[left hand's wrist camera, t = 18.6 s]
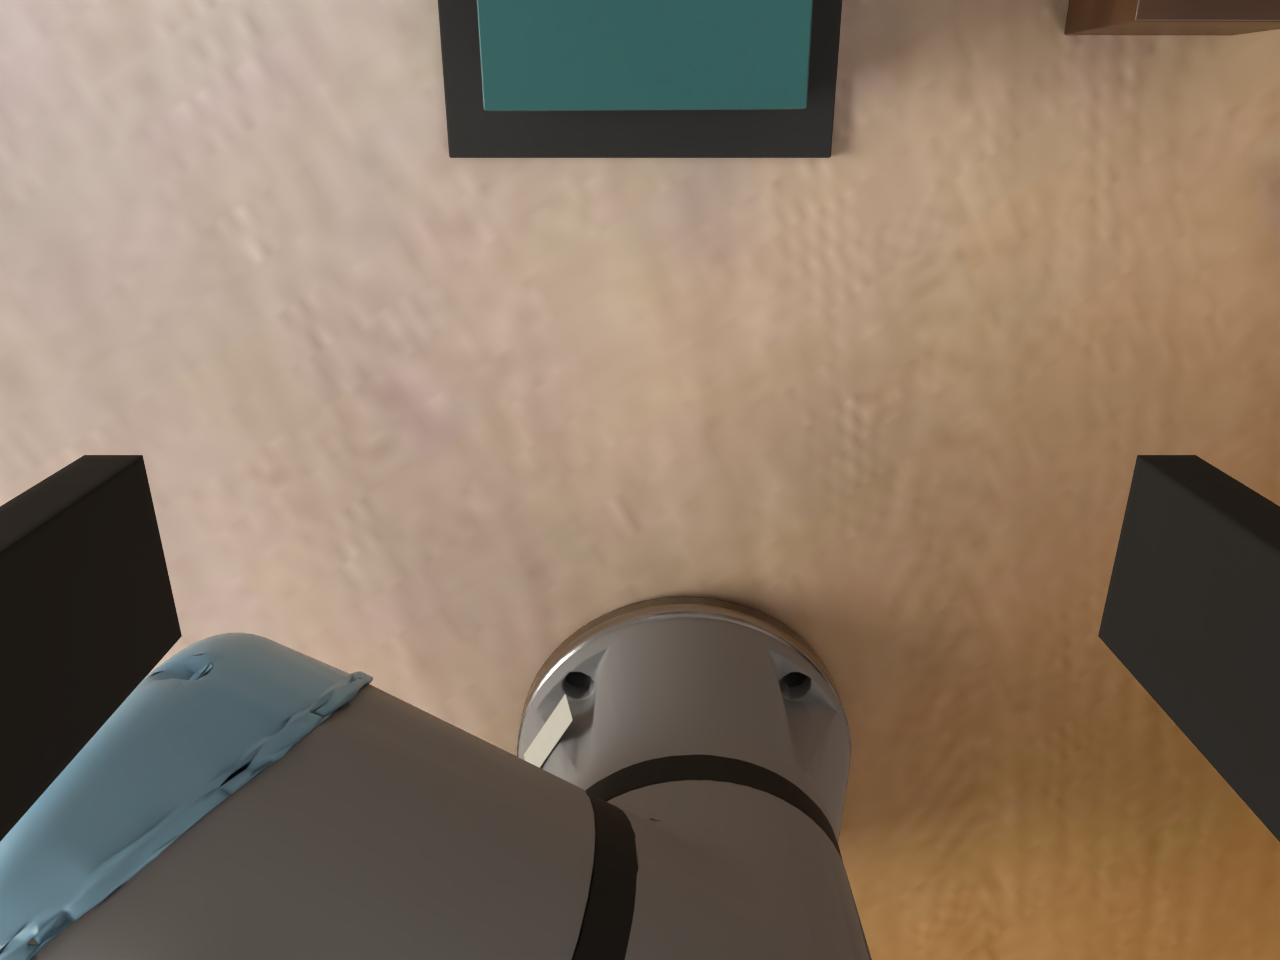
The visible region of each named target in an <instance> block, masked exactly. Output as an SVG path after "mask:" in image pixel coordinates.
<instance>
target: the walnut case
mask: <svg viewBox="0 0 1280 960" xmlns="http://www.w3.org/2000/svg"><path fill="white" fill-rule="evenodd" d="M1274 29H1280V0H1070V2H1069V8H1068V14H1067V21H1066V27H1065V35H1237V34H1245V33H1252V32H1259V31H1267V30H1274Z"/></svg>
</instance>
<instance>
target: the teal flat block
mask: <svg viewBox="0 0 1280 960" xmlns="http://www.w3.org/2000/svg"><path fill="white" fill-rule="evenodd" d="M812 7H813V0H477V11H478V27H479V42H480V58H481V73H482V89H483V105H484V110H485V111H616V110H786V109H805V108H806V107H807V93H808V76H809V58H810V41H811V24H812Z"/></svg>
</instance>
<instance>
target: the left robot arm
mask: <svg viewBox="0 0 1280 960" xmlns="http://www.w3.org/2000/svg"><path fill="white" fill-rule="evenodd" d="M180 637H181V631H180V626H179V622H178V617H177V613H176V608H175V603H174V599H173V594H172V589H171V585H170V580H169V576H168V571H167V566H166V562H165V557H164V553H163V548H162V543H161V539H160V534H159V529H158V525H157V520H156V516H155V511H154V506H153V502H152V497H151V492H150V488H149V483H148V479H147V474H146V469H145V465H144V460H143V456H142V455H84V456H82V457H81V458H79V459H77V460H76V461H74V462H73V463H71V464H69V465H68V466H66V467H64V468H63V469H61V470H59V471H58V472H56V473H55V474H53V475H51V476H50V477H48V478H46V479H45V480H43V481H41V482H40V483H38V484H37V485H35V486H33V487H32V488H30V489H28V490H27V491H25V492H23V493H22V494H20V495H19V496H17V497H15V498H14V499H12V500H10V501H9V502H7V503H5V504H4V505H2V506H1V507H0V960H872V959H871V956H870V952H869V949H868V945H867V942H866V939H865V935H864V932H863V928H862V925H861V922H860V918H859V915H858V911H857V908H856V904H855V901H854V898H853V894H852V891H851V887H850V884H849V881H848V877H847V874H846V870H845V868H844V865H843V861H842V857H841V853H840V850H839V845H838V840H839V833H840V827H841V820H842V814H843V807H844V801H845V794H846V788H847V781H848V775H849V768H850V754H851V744H850V733H849V728H848V723H847V719H846V716H845V713H844V710H843V707H842V704H841V701H840V698H839V695H838V692H837V689H836V687H835V684H834V682H833V680H832V678H831V676H830V674H829V672H828V670H827V669H826V667H825V666H824V664H823V662H822V661H821V660H820V658H819V657H818V656H817V655H816V653H815V652H814V651H813V650H812V649H811V648H810V647H809V646H808V645H807V644H806V642H805V641H804V640H802V639H801V638H800V637H799V636H798V635H796V634H795V633H794V632H793V631H792V630H790V629H789V628H787V627H786V626H784V625H783V624H781V623H780V622H778V621H776V620H774V619H773V618H771V617H769V616H767V615H765V614H763V613H760V612H758V611H756V610H753V609H751V608H748V607H745V606H742V605H739V604H735V603H731V602H727V601H722V600H717V599H710V598H702V597H668V598H661V599H653V600H648V601H643V602H639V603H635V604H631V605H628V606H625V607H622V608H619V609H616V610H614V611H612V612H609V613H607V614H604V615H603V616H601V617H599V618H597V619H595V620H593V621H591V622H589V623H588V624H586V625H585V626H583V627H582V628H580V629H579V630H577V631H576V632H575V633H574V634H572V635H571V636H570V637H569V638H567V639H566V640H565V641H564V642H563V643H562V644H561V645H560V646H559V647H558V648H557V649H556V650H555V651H554V652H553V653H552V654H551V656H550V657H549V658H548V659H547V660H546V662H545V663H544V665H543V666H542V668H541V669H540V671H539V672H538V674H537V676H536V678H535V680H534V682H533V684H532V686H531V688H530V691H529V693H528V696H527V699H526V703H525V707H524V711H523V716H522V721H521V726H520V731H519V737H518V746H517V756H514V755H512V754H510V753H508V752H506V751H504V750H502V749H500V748H498V747H496V746H494V745H492V744H490V743H488V742H486V741H484V740H482V739H480V738H478V737H476V736H474V735H472V734H470V733H468V732H466V731H464V730H461V729H459V728H457V727H455V726H453V725H451V724H449V723H447V722H445V721H443V720H441V719H439V718H437V717H435V716H433V715H431V714H429V713H427V712H425V711H423V710H421V709H419V708H417V707H415V706H413V705H411V704H408V703H406V702H404V701H402V700H400V699H398V698H396V697H394V696H392V695H390V694H388V693H386V692H384V691H382V690H380V689H378V688H376V687H374V686H372V685H370V684H369V683H371V681H372V680H373V677H371V676H369V675H367V674H365V673H363V672H355V673H352V674H348V673H346V672H344V671H341V670H339V669H337V668H335V667H332V666H330V665H328V664H325V663H323V662H321V661H318V660H316V659H314V658H311V657H309V656H307V655H304V654H302V653H300V652H297V651H295V650H293V649H290V648H288V647H286V646H283V645H281V644H279V643H276V642H274V641H272V640H269V639H267V638H264V637H261V636H257V635H254V634H246V633H227V634H220V635H216V636H212V637H209V638H206V639H203V640H201V641H198V642H196V643H194V644H192V645H190V646H188V647H187V648H185V649H183V650H182V651H180V652H178V653H177V654H175V655H174V656H173V657H171V658H170V659H168V660H167V661H165V662H164V663H163V664H161V665H160V666H159V667H158V668H156V669H155V670H154V671H153V672H151V673H150V674H149V672H150V671H151V670H152V669H153V668H154V667H155V666H156V665H157V663H158V662H159V661H160V660H161V659H162V658H163V657H164V655H165V654H166V653H167V652H168V651H169V650H170V649H171V647H172V646H173V645H174V644H175V643H176V642H177V641H178V640H179V638H180ZM1099 637H1100V638H1101V640H1102V641H1103V642H1104V643H1105V644H1106V645H1107V646H1108V647H1109V649H1110V650H1111V651H1112V652H1113V653H1114V654H1115V655H1116V657H1117V658H1118V659H1119V660H1120V661H1121V662H1122V663H1123V665H1124V666H1125V667H1126V668H1127V669H1128V670H1129V671H1130V672H1131V674H1132V675H1133V676H1134V677H1135V678H1136V679H1137V680H1138V682H1139V683H1140V684H1141V685H1142V686H1143V687H1144V688H1145V689H1146V691H1147V692H1148V693H1149V694H1150V695H1151V696H1152V697H1153V699H1154V700H1155V701H1156V702H1157V703H1158V704H1159V705H1160V706H1161V708H1162V709H1163V710H1164V711H1165V712H1166V713H1167V714H1168V716H1169V717H1170V718H1171V719H1172V720H1173V721H1174V722H1175V724H1176V725H1177V726H1178V727H1179V728H1180V729H1181V730H1182V731H1183V733H1184V734H1185V735H1186V736H1187V737H1188V738H1189V739H1190V741H1191V742H1192V743H1193V744H1194V745H1195V746H1196V747H1197V748H1198V750H1199V751H1200V752H1201V753H1202V754H1203V755H1204V756H1205V758H1206V759H1207V760H1208V761H1209V762H1210V763H1211V764H1212V765H1213V767H1214V768H1215V769H1216V770H1217V771H1218V772H1219V773H1220V775H1221V776H1222V777H1223V778H1224V779H1225V780H1226V781H1227V783H1228V784H1229V785H1230V786H1231V787H1232V788H1233V789H1234V790H1235V792H1236V793H1237V794H1238V795H1239V796H1240V797H1241V798H1242V800H1243V801H1244V802H1245V803H1246V804H1247V805H1248V806H1249V807H1250V809H1251V810H1252V811H1253V812H1254V813H1255V814H1256V815H1257V817H1258V818H1259V819H1260V820H1261V821H1262V822H1263V823H1264V824H1265V826H1266V827H1267V828H1268V829H1269V830H1270V831H1271V832H1272V834H1273V835H1274V836H1275V837H1276V838H1277V839H1278V840H1279V842H1280V507H1279V506H1278V505H1276V504H1275V503H1273V502H1271V501H1270V500H1268V499H1266V498H1265V497H1263V496H1261V495H1260V494H1258V493H1257V492H1255V491H1253V490H1252V489H1250V488H1248V487H1247V486H1245V485H1243V484H1242V483H1240V482H1239V481H1237V480H1235V479H1234V478H1232V477H1230V476H1229V475H1227V474H1225V473H1224V472H1222V471H1221V470H1219V469H1217V468H1216V467H1214V466H1212V465H1211V464H1209V463H1207V462H1206V461H1204V460H1203V459H1201V458H1199V457H1198V456H1196V455H1138V456H1137V460H1136V465H1135V469H1134V474H1133V479H1132V483H1131V488H1130V492H1129V497H1128V502H1127V506H1126V511H1125V516H1124V520H1123V525H1122V529H1121V534H1120V539H1119V543H1118V548H1117V552H1116V557H1115V562H1114V566H1113V571H1112V576H1111V580H1110V585H1109V589H1108V594H1107V599H1106V603H1105V608H1104V613H1103V617H1102V622H1101V626H1100V631H1099ZM148 674H149V675H148ZM147 675H148V676H147ZM146 676H147V677H146ZM145 677H146V678H145Z"/></svg>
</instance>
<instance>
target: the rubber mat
mask: <svg viewBox="0 0 1280 960" xmlns="http://www.w3.org/2000/svg"><path fill="white" fill-rule="evenodd" d="M438 8H439V21H440V35H441V48H442V62H443V76H444V89H445V103H446V117H447V130H448V144H449V156H450V157H451V158H829V157H830V156H831V145H832V131H833V118H834V104H835V90H836V77H837V63H838V49H839V36H840V22H841V9H842V0H813V7H812V24H811V41H810V58H809V76H808V93H807V107H806V108H805V109H786V110H616V111H485V110H484V105H483V89H482V73H481V58H480V42H479V27H478V11H477V0H438Z"/></svg>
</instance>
